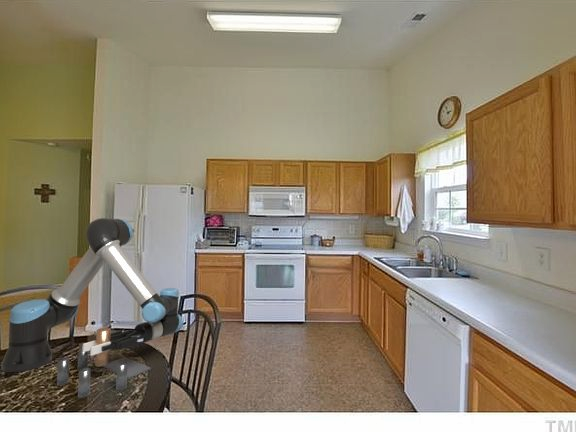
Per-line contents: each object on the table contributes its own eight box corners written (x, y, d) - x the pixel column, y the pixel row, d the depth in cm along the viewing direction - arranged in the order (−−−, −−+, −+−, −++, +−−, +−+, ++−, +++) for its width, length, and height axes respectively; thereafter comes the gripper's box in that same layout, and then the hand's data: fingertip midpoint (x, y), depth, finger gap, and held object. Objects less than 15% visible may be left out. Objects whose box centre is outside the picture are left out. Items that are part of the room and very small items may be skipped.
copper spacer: (91, 364, 110) (94, 330, 110) (104, 360, 114) (106, 327, 114) (98, 367, 108) (100, 332, 108) (111, 363, 112) (113, 329, 112)
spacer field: (47, 379, 109) (48, 356, 109) (84, 366, 119) (85, 345, 120) (90, 404, 94) (91, 377, 95) (128, 387, 105) (129, 363, 105)
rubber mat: (101, 366, 119) (102, 365, 119) (124, 358, 127) (124, 357, 127) (128, 378, 111) (128, 377, 111) (150, 369, 118) (150, 367, 118)
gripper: (161, 345, 122) (100, 367, 102) (134, 336, 131) (73, 354, 111) (162, 326, 122) (101, 344, 102) (135, 318, 131) (74, 333, 111)
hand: (86, 349), depth 106 cm, fingers closed on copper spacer, 4 cm apart
